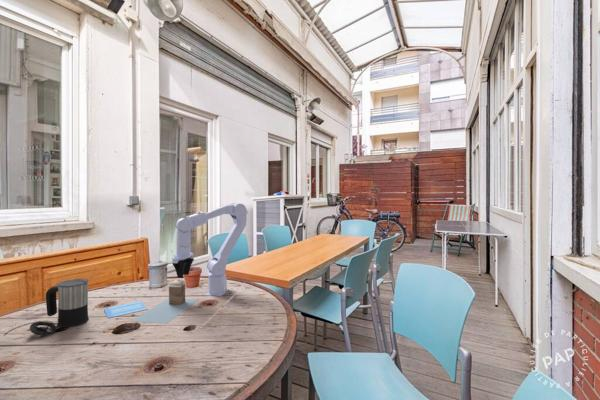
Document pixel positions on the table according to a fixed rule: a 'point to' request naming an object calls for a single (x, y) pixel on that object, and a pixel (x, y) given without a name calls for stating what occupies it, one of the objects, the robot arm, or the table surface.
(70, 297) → the milk frother
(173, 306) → the light blue mat
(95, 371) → the table surface
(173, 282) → the walnut block
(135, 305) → the blue streaked flat panel
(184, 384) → the table surface
